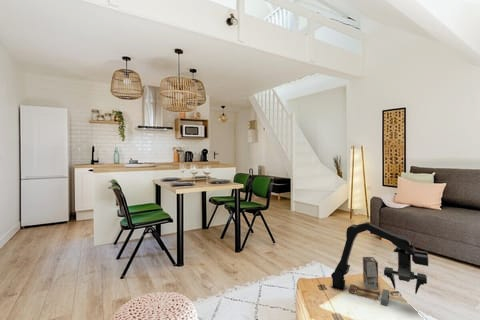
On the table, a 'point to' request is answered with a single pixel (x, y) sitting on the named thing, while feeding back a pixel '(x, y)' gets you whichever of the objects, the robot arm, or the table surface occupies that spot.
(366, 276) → the coffee box
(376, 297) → the bar
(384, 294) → the grey bracket bar
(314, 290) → the table surface
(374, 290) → the base
